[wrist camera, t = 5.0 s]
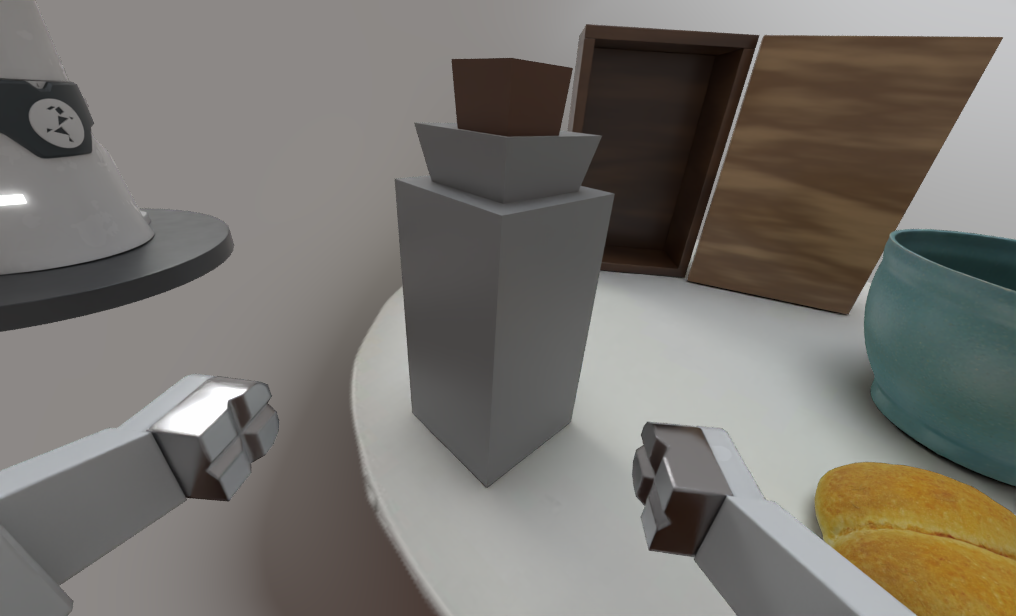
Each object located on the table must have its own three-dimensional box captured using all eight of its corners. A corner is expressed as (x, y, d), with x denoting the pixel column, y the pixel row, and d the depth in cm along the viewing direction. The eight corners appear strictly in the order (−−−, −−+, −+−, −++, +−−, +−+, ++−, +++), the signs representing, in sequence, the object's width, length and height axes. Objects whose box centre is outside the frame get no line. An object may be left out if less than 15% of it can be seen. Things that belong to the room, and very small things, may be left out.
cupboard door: (688, 263, 48) (756, 45, 37) (831, 291, 43) (957, 48, 32) (687, 280, 43) (764, 34, 32) (848, 314, 38) (1003, 37, 27)
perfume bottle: (486, 487, 19) (511, 49, 10) (412, 412, 23) (385, 54, 14) (570, 421, 23) (637, 73, 15) (495, 368, 27) (512, 71, 19)
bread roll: (843, 663, 14) (905, 606, 12) (792, 471, 21) (825, 417, 19) (1191, 821, 11) (1346, 781, 9) (993, 537, 18) (1056, 482, 16)
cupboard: (684, 277, 44) (759, 35, 33) (554, 266, 45) (586, 24, 34) (667, 256, 50) (725, 45, 39) (553, 246, 51) (579, 35, 40)
